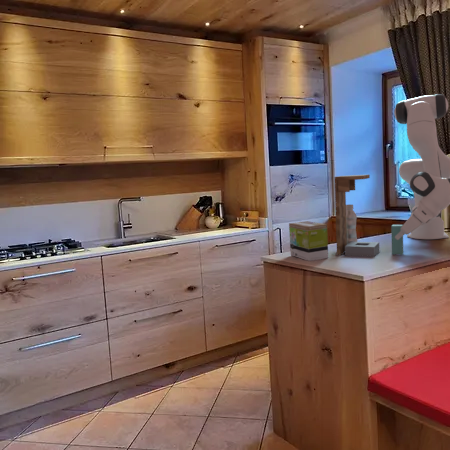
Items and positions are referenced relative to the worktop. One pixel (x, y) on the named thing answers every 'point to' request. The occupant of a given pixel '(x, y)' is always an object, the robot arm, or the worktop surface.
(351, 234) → the plastic bottle
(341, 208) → the wooden post stand
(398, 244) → the peg
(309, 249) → the tea box
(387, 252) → the worktop surface
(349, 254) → the socket block
